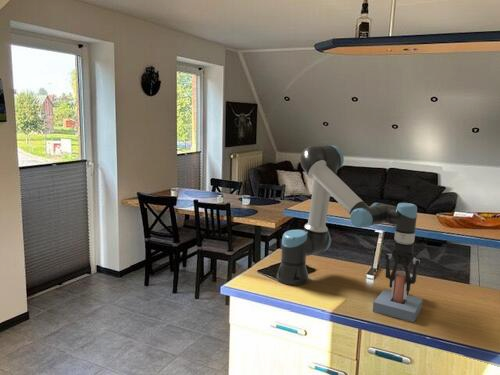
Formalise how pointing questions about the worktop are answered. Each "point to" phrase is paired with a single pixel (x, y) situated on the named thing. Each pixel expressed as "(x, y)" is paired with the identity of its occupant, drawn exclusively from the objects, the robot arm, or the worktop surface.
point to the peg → (399, 288)
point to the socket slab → (398, 306)
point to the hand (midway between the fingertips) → (398, 296)
